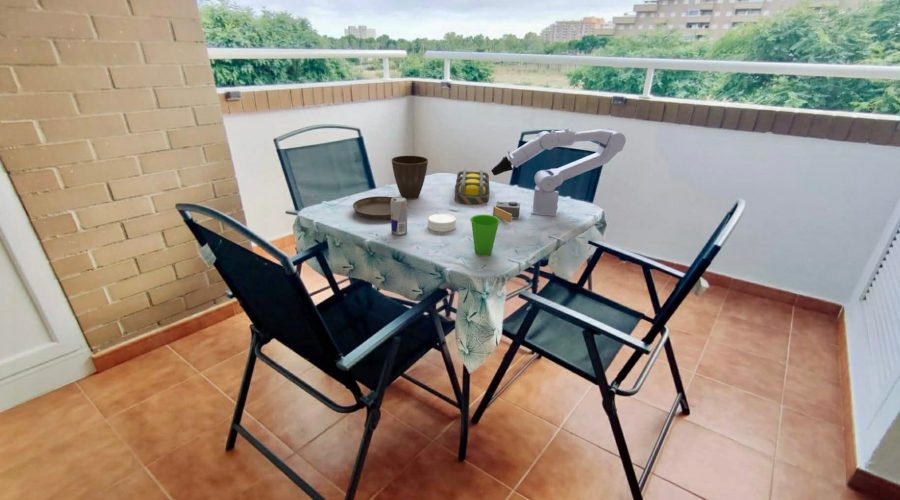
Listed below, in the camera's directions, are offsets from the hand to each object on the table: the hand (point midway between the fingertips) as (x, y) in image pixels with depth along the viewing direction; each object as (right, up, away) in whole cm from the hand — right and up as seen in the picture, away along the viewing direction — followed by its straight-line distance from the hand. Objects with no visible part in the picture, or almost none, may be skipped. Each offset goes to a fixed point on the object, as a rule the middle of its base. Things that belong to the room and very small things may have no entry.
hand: (492, 173), depth 162 cm
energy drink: (-33, -23, -14) cm, 43 cm away
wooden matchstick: (+3, -17, -1) cm, 18 cm away
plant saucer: (-43, -15, +4) cm, 45 cm away
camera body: (+6, -15, +5) cm, 17 cm away
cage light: (-6, -5, +28) cm, 29 cm away
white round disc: (-19, -21, -8) cm, 29 cm away
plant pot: (-33, -6, +22) cm, 40 cm away
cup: (-6, -30, -27) cm, 41 cm away
